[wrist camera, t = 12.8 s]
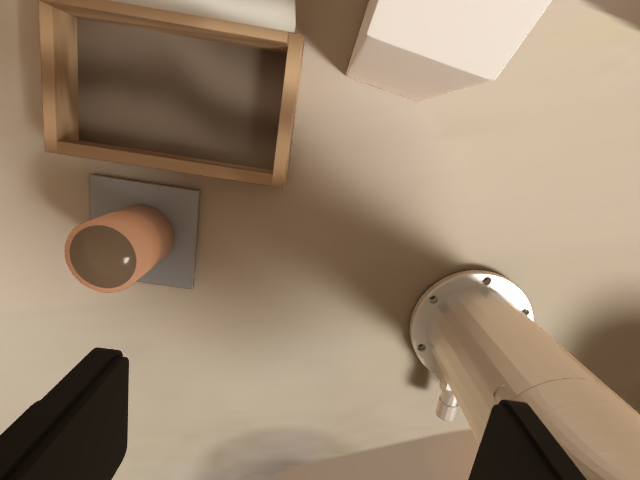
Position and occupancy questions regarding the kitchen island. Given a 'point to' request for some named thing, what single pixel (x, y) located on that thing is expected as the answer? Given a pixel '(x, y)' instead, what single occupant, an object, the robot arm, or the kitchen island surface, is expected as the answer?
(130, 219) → the pot
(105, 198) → the slate tile
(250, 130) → the box
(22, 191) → the kitchen island surface
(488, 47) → the milk carton
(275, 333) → the kitchen island surface
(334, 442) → the kitchen island surface
